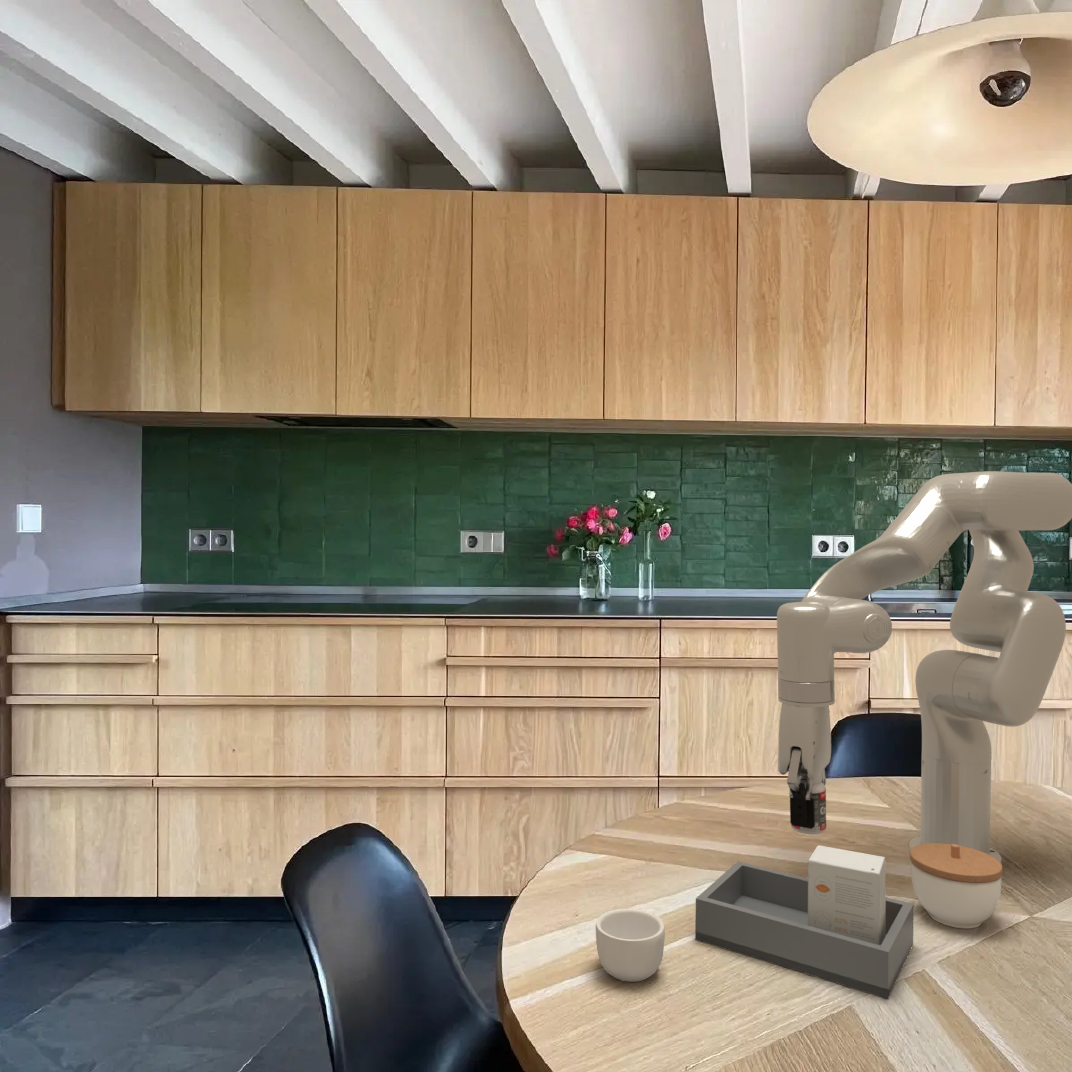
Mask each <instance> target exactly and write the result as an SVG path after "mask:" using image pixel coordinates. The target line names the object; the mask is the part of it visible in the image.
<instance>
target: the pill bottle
mask: <svg viewBox="0 0 1072 1072" xmlns="http://www.w3.org/2000/svg"><path fill="white" fill-rule="evenodd" d="M806 774H807V772H806V771H801V772H800V775H805V776H806ZM800 781H801V783H804V785H805V788H806V780H800ZM825 787H826V784H825V785H824V784H823V783H822V771H821V772H820V773H819V774H818V775H816V776H815V777H813V783H812V798H811V799H814V808H815V826H814V828H812V829H810V828H805V827H800V826H794V825H792V824H791V823H790V826H791V827H790V828H791V829H792V830H793V831H795V832H797V833H800V834H806V835H820V834H823V833H824V832H826V831H827V789H825Z"/></svg>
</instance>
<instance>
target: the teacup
mask: <svg viewBox="0 0 1072 1072" xmlns="http://www.w3.org/2000/svg"><path fill="white" fill-rule="evenodd" d="M665 935H666V931H665V923H664V922H663V920H662V919H661V917H659V916H658V915H656V914H655V913H652V912H650V911H647V910H643V909H639V908H638V909H637V908H616V909H612V910H608V911H606V912H603V913H602V914H601V915H599V916H598V918H597V919H596V922H595V939H596V950H597V955H598V960H599V962H600V964H601V966H602V968H604V970H605V971H606V972H607V973H608V974H609V975H610V976H612V977H613V978H615V979H616V980H619V981H622V982H626V983H627V982H628V983H638V982H642V981H644V980H646V979H648V978H650V977H651V976H652V975H654V974H655V973H656V972H657V970H658V969H659V967H660V966H661V964H662V961H663V956H664V949H665V939H666V937H665Z"/></svg>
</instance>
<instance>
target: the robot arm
mask: <svg viewBox="0 0 1072 1072" xmlns="http://www.w3.org/2000/svg"><path fill="white" fill-rule="evenodd" d="M1071 520H1072V483H1071V482H1070V480H1069V479H1068V478H1066V477H1064V476H1063V475H1061V474H1058V473H1055V472H1018V471H1016V472H1015V471H997V470H996V471H994V470H992V471H991V470H987V471H971V472H970V471H969V472H957V473H945V474H940V475H937V476H934V477H932V478H930V479H929V480H927V481H926V482H925V483H924V484H923V485H922V486H921V487H920V489H918V491H917V492H916V493H915V494H914V496H913V497H912V498H911V499H910V500H909V501H908V503H907V504H906V505H905V506H904V507H903V508H902V510H901V511H900V512H899V514H898V515H897V516H896V517H895V519H894V520H893V521H892V522H891V523H890V524H889V526H888V527H887V528H886V529H885V531H884V532H883V533H882V534H881V535H880V536H878V538H877V539H875V540H873V541H872V542H869V543H868V544H865V545H864V546H861V548H859V549H857V550H856V551H854V552H852V553H851V554H849V555H848V556H846V557H844V558H843V559H841V560H839V561H838V562H836V563H835V564H834V565H832V566H831V567H829V568H828V569H827V570H826V571H825V572H824V573H823V574H822V575H821V576H820V577H819V578H818V579H817V580H816V581H815V583H814V584H813V586H811V587H810V589H809V590H808V592H807V593H806V594H805V595H804V596H803V598H802V599H801V601H795V602H794V601H793V602H786V603H784V604H782V605H780V606H779V608H778V610H777V612H776V640H777V641H776V642H777V644H776V645H777V691H778V694H777V696H778V697H777V698H778V699H777V700H778V702H779V703H781V708H780V714H779V727H778V748H777V749H778V753H777V755H778V757H777V758H778V759H777V760H778V761H777V771H778V773H779V774H780V775H784V776H785V775H787V779H786V784H787V785H788V789H789V813H790V814H789V815H790V816H789V817H790V819H789V820H790V821H789V822H790V825H791V824H792V825H794V826H800V827H805V828H810V829H812V828H814V826H815V808H814V799H811V798H812V783H813V777H815V776H816V775H818V774H819V773H820V772H821V771H822V783H823V784H824V785H825V789H826V788H827V787H826V784H827V782H826V781H827V780H826V779H827V778H826V768H827V766H828V765H829V763H830V762H831V755H832V731H831V730H832V728H831V727H832V726H831V715H830V712H831V711H830V706H833V705H834V704H835V703H836V702H835V700H836V698H835V696H836V695H835V693H836V692H835V654H837V653H848V654H850V653H851V654H870V653H872V652H875V651H877V650H879V649H881V648H882V647H883V646H885V645H886V643H887V642H888V641H889V639H890V638H891V635H892V631H893V623H892V619H891V617H890V615H889V613H888V612H887V610H886V609H884V608H883V607H882V605H879V604H877V603H875V602H872V601H869V600H865V599H864V598H866V597H868V596H870V595H872V594H874V593H876V592H878V591H881V590H885V589H887V588H891V587H895V586H898V585H904V584H906V583H909V582H912V581H915V580H918V579H920V578H922V577H924V576H926V575H929V574H930V572H932V571H933V569H934V568H935V567H936V565H937V564H938V563H939V562H940V560H941V559H942V557H943V556H944V555H945V553H946V552H947V551H948V550H949V549H950V547H951V546H952V545H953V543H955V541H956V540H957V539H958V538H959V536H960V535H961V534H962V533H963V532H965V531H967V530H968V531H969V534H970V536H971V537H970V538H971V541H972V545H973V557H972V562H971V565H970V568H969V571H968V573H967V575H966V578H965V580H964V583H963V585H962V587H961V590H960V593H959V594H958V597H957V599H956V602H955V604H954V606H953V610H952V614H951V616H950V620H949V630H950V633H951V635H952V637H953V638H954V639H955V640H956V641H958V642H959V643H960V644H963V645H964V646H967V647H971V648H975V649H980V650H984V651H990V652H997V653H999V656H998V657H996V656H990V655H985V654H981V653H976V652H969V651H965V650H964V651H963V650H956V649H941V650H936V651H933V652H931V653H928V654H927V655H926V656H925V657H923V658H922V659H921V661H920V662H919V663H918V666H917V668H916V672H915V679H914V680H915V691H916V694H917V700H918V701H917V702H918V706H919V711H920V720H921V768H920V770H921V775H920V778H921V781H920V782H921V783H920V785H921V787H920V835H918V836H916V837H914V838H912V839H911V840H910V841H909V845H908V846H909V848H908V849H909V851H910V850H911V849H912V848H913V847H915V846H917V845H920V844H927V843H945V844H957V845H960V846H964V847H968V848H972V849H976V850H978V851H981V852H984V853H986V854H988V855H990V856H992V857H994V858H996V859H997V860H998V861H999V862H1000V863H1001V864H1002V862H1003V861H1002V859H1003V858H1002V856H1001V854H1000V853H999V852H998V851H996V850H995V849H994V848H992V847H991V795H992V793H991V792H992V791H991V789H992V787H991V786H992V785H991V783H992V756H993V755H992V743H991V737H990V735H989V732H988V730H987V727H986V724H985V722H986V723H991V724H995V725H999V726H1005V727H1011V728H1012V727H1013V728H1014V727H1019V726H1022V725H1025V724H1026V723H1028V722H1030V720H1032V718H1034V716H1035V714H1036V713H1037V711H1038V709H1039V707H1040V706H1041V703H1042V702H1043V699H1044V696H1045V693H1046V691H1047V688H1048V686H1049V683H1050V680H1051V679H1052V675H1053V674H1054V671H1055V668H1056V665H1057V663H1058V660H1059V658H1060V654H1061V652H1062V649H1063V646H1064V644H1065V638H1066V631H1067V625H1066V617H1065V614H1064V613H1065V612H1064V610H1063V608H1062V607H1061V606H1060V605H1061V604H1060V603H1058V602H1057V601H1056V600H1055V599H1054V598H1052V597H1050V596H1049V595H1047V594H1045V593H1044V594H1043V593H1040V592H1034V591H1028V590H1029V587H1030V584H1031V581H1032V577H1033V575H1034V567H1035V565H1034V560H1033V556H1032V554H1031V552H1030V549H1029V548H1028V547H1029V546H1027V544H1026V542H1025V541H1024V538H1023V537H1022V535H1021V533H1020V531H1053V530H1054V531H1055V530H1057V529H1060V528H1062V527H1064V526H1066V524H1068V523H1069V522H1070V521H1071ZM801 771H806V772H807V774H806V776H805V775H800V772H801ZM800 780H806V788H805V785H804V783H801V781H800ZM826 790H827V789H826Z"/></svg>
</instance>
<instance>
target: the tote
mask: <svg viewBox="0 0 1072 1072" xmlns="http://www.w3.org/2000/svg"><path fill="white" fill-rule="evenodd" d="M914 907H915V906H914V903H911V902H906V901H903V900H899V899H895V898H891V897H886V937H885V939H884V941H883V942H882V944H881V946H880V945H877V944H873V943H869V942H866V941H862V940H859V939H855V938H851V937H848V936H844V935H840V934H837V933H833V932H830V931H826V930H822V929H819V928H815V927H811V926H808V877H804V876H801V875H800V876H799V875H796V874H793V873H787V872H784V871H779V870H777V869H776V870H775V869H772V868H767V867H763V866H759V865H755V864H751V863H749V862H743V861H740V860H738V861H737V862H735V863H733V864H732V866H731V867H729V869H727V870H726V871H725V872H724V873H723V874H722V875H720V876H719V877H718V878H717V879H716V880H715V881H713V883H711V885H709V886H708V887H707V888H706V889H705V890H703V891H702V892H701V893H700V894H699V895H698V896H697V897H696V898H695V925H694V926H695V929H694V930H695V935H694V938H695V939H694V940H696V941H699V942H702V943H705V944H709V945H712V946H715V947H719V948H721V949H724V950H728V951H731V952H735V953H738V954H741V955H745V956H747V957H751V958H754V959H758V960H761V961H764V962H767V963H771V964H774V965H777V966H780V967H783V968H787V969H789V970H793V971H796V972H800V973H803V974H807V975H809V976H811V977H812V976H813V977H815V978H819V979H822V980H825V981H828V982H831V983H836V984H839V985H841V986H845V987H849V988H850V989H854V990H857V989H858V991H862V992H864V993H868V994H871V995H875V996H877V997H879V998H880V997H881V998H884V999H887V1000H889V997H890V995H891V993H892V992H893V989H894V988H895V987H894V986H895V985H896V983H897V981H896V980H898V978H899V976H900V974H901V972H902V970H903V967H904V966H903V965H905V964H904V963H906V961H907V959H908V957H909V954H910V953H909V952H911V951H912V949H911V947H912V946H914V917H915V915H914V913H915V911H914V910H915V908H914ZM912 948H913V947H912ZM910 950H911V951H910ZM907 956H908V957H907ZM895 982H896V983H895Z"/></svg>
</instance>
